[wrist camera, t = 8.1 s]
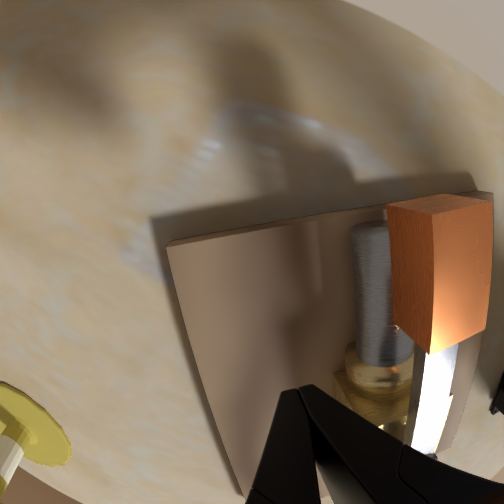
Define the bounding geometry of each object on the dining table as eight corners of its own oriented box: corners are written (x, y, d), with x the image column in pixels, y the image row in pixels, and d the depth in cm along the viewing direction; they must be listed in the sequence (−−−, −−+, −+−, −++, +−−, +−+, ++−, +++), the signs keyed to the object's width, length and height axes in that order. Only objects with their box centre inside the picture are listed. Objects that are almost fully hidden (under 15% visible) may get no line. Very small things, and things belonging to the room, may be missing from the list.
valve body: (403, 212, 16) (480, 234, 10) (384, 469, 22) (409, 516, 16) (317, 227, 16) (372, 260, 10) (331, 487, 21) (350, 539, 15)
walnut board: (478, 190, 17) (493, 192, 16) (443, 437, 23) (450, 446, 22) (170, 241, 16) (165, 247, 15) (248, 499, 22) (250, 511, 21)
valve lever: (420, 451, 13) (440, 480, 11) (381, 469, 13) (398, 500, 11) (442, 193, 10) (491, 201, 7) (385, 204, 10) (431, 214, 7)
